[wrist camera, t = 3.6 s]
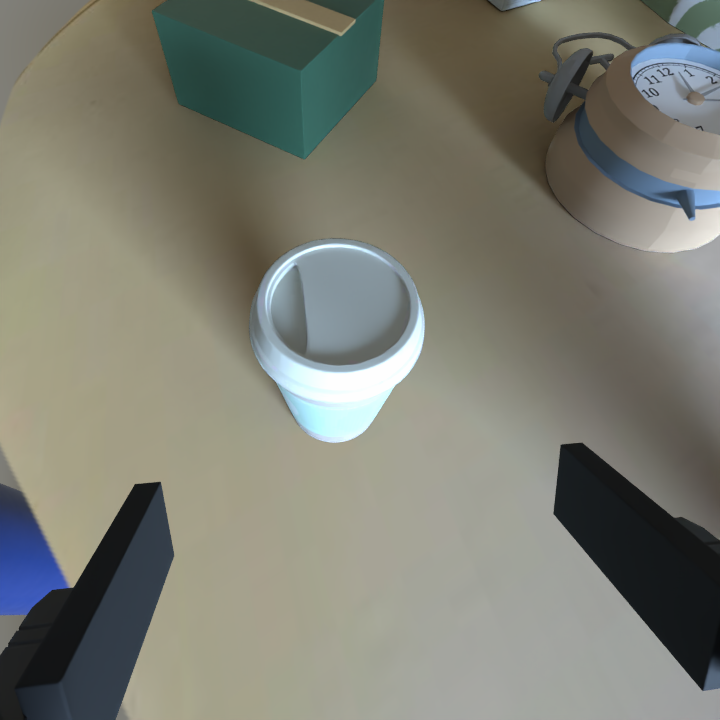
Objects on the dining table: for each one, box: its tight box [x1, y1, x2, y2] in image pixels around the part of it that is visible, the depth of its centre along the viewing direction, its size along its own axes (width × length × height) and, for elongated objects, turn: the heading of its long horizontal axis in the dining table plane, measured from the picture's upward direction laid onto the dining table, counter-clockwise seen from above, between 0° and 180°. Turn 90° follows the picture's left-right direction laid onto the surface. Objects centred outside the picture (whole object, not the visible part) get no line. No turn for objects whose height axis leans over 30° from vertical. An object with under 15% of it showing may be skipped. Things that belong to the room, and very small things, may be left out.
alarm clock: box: [539, 32, 720, 253], centre depth 42 cm, size 17×9×23 cm
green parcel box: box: [152, 0, 384, 159], centre depth 43 cm, size 14×14×8 cm
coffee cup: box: [249, 238, 424, 442], centre depth 27 cm, size 8×8×12 cm
